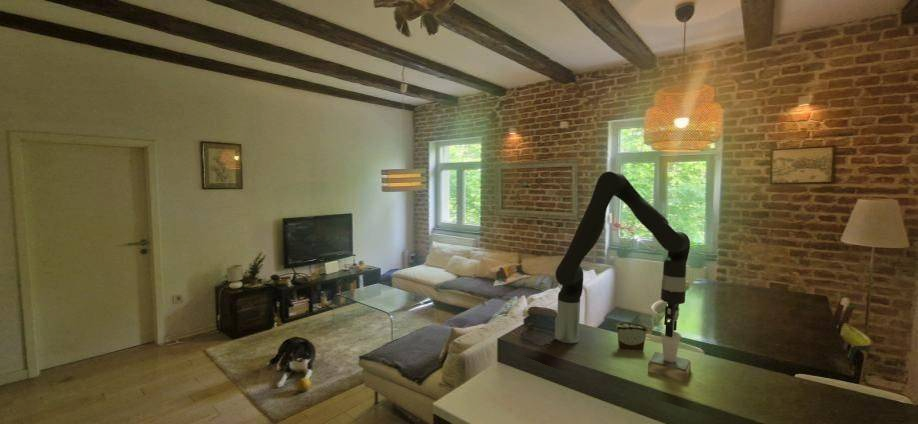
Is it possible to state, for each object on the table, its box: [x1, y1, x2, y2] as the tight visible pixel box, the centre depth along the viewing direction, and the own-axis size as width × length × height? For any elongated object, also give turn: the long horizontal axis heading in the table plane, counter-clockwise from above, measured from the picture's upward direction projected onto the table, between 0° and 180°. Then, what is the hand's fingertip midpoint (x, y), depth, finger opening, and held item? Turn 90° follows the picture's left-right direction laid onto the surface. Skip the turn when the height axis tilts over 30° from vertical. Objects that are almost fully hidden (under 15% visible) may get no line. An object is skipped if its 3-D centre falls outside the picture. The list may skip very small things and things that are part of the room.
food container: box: [615, 321, 649, 352], centre depth 160 cm, size 12×6×10 cm, turn 84°
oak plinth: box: [647, 351, 692, 383], centre depth 139 cm, size 12×11×4 cm
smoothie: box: [660, 326, 682, 362], centre depth 139 cm, size 6×6×14 cm
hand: (670, 333), depth 138 cm, fingers open, 8 cm apart
